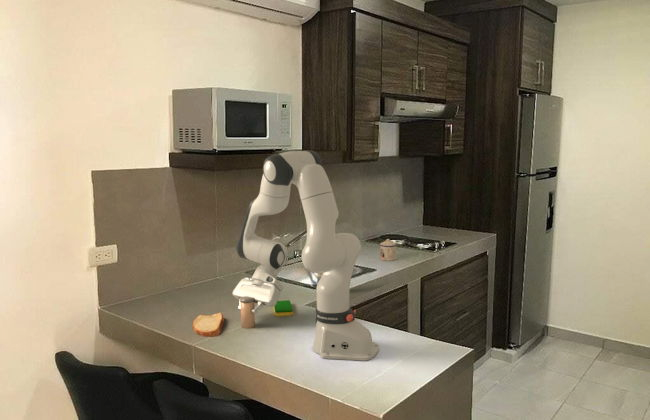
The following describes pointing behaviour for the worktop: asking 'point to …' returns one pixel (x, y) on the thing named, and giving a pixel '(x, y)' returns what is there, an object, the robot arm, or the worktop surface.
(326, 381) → the worktop surface
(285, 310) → the dish sponge
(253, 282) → the robot arm
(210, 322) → the slice of bread
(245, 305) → the grey-capped jar
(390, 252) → the teacup with lid
